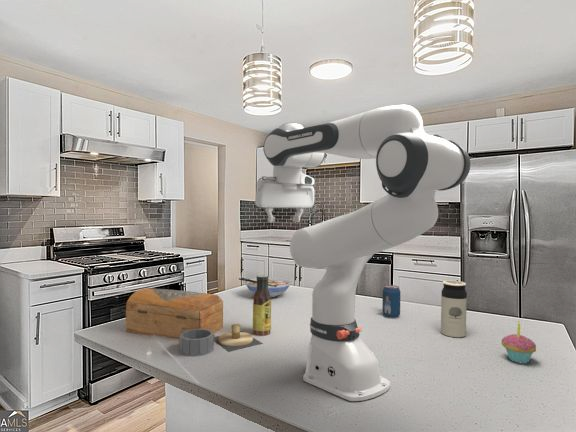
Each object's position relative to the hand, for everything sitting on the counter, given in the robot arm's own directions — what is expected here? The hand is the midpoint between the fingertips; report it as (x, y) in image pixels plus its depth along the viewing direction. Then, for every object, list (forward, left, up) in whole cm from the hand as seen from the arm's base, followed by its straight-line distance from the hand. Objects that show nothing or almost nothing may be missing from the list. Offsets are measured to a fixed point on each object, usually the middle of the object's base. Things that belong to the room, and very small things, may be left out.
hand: (284, 222), depth 116 cm
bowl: (+11, +24, -39) cm, 47 cm away
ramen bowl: (+57, -30, -39) cm, 75 cm away
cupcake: (-47, -50, -39) cm, 79 cm away
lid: (+11, +11, -38) cm, 41 cm away
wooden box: (+33, +23, -39) cm, 56 cm away
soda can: (+2, -54, -39) cm, 67 cm away
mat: (+11, +11, -39) cm, 42 cm away
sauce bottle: (+13, 0, -39) cm, 41 cm away
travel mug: (-24, -55, -39) cm, 72 cm away
